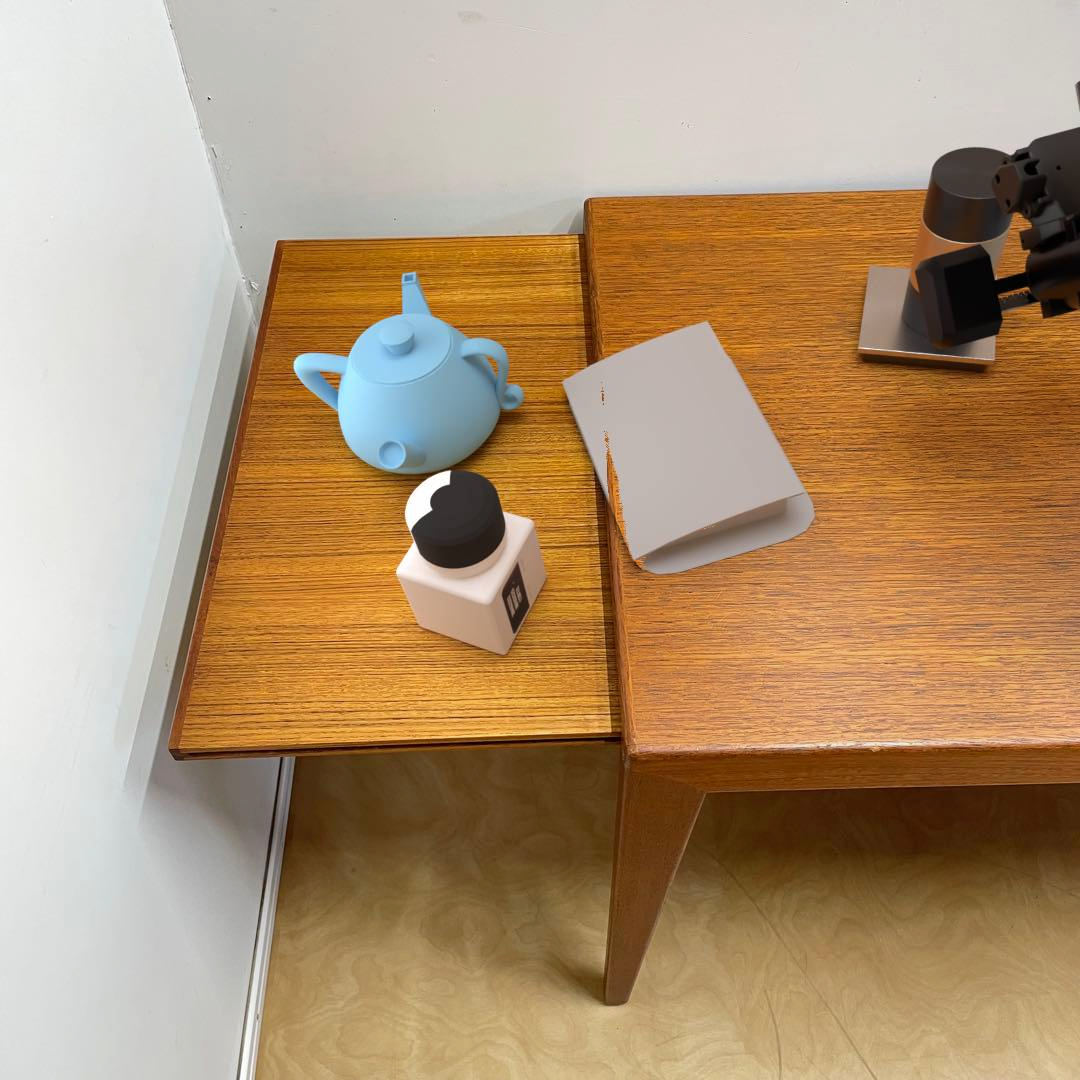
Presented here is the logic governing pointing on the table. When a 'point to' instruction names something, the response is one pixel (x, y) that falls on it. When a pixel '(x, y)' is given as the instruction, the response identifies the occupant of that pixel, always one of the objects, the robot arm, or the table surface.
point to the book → (687, 452)
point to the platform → (909, 330)
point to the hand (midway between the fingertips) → (993, 286)
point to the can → (957, 217)
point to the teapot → (414, 389)
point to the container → (469, 561)
